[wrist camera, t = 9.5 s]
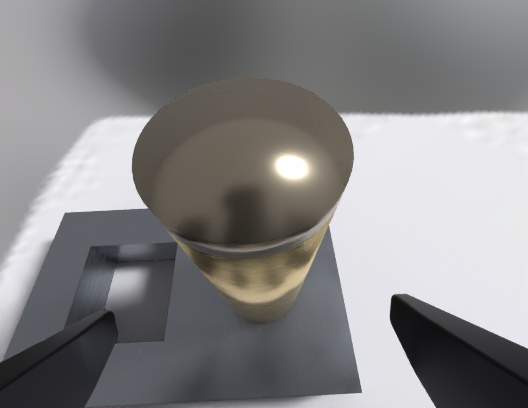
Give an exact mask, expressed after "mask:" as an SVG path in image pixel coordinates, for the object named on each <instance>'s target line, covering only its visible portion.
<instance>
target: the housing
mask: <svg viewBox="0 0 528 408" xmlns="http://www.w3.org/2000/svg"><path fill="white" fill-rule="evenodd" d="M165 259H175V266H174V273H173V280H172V287H171V294H170V301H169V308H168V315H167V322H166V329H165V336H164V341H152V342H133V343H115V345H114V347H113V349H112V352H111V354H110V356H109V358H108V361H107V363H106V365H105V367H104V369H103V372H102V374H101V376H100V378H99V380H98V383H97V385H96V387H95V389H94V391H93V393H92V395H91V397H90V399H89V400H88V402H87V404H86V406H85V407H103V406H122V405H141V404H160V403H179V402H197V401H216V400H235V399H254V398H273V397H292V396H311V395H330V394H349V393H362V390H361V385H360V380H359V375H358V370H357V365H356V360H355V355H354V350H353V344H352V339H351V334H350V329H349V324H348V319H347V314H346V309H345V304H344V299H343V294H342V289H341V284H340V279H339V274H338V269H337V264H336V259H335V254H334V249H333V244H332V239H331V234H330V229H329V226H328V228H327V230H326V232H325V235H324V237H323V239H322V241H321V244H320V246H319V248H318V250H317V253H316V255H315V257H314V259H313V262H312V264H311V266H310V268H309V271H308V273H307V275H306V277H305V280H304V282H303V284H302V286H301V289H300V291H299V293H298V295H297V298H296V300H295V302H294V304H293V305H292V307H291V308H290V310H289V311H288V312H287V313H286V314H284V315H283V316H282V317H280V318H279V319H277V320H274V321H271V322H267V323H255V322H251V321H248V320H246V319H244V318H242V317H240V316H239V315H238V314H237V313H236V312H235V311H234V310H233V309H232V308H231V307H230V305H229V304H228V303H227V302H226V301H225V299H224V298H223V297H222V296H221V295H220V294H219V292H218V291H217V290H216V289H215V288H214V286H213V285H212V284H211V283H210V282H209V280H208V279H207V278H206V277H205V276H204V274H203V273H202V272H201V271H200V270H199V268H198V267H197V266H196V265H195V264H194V262H193V261H192V260H191V259H190V258H189V256H188V255H187V254H186V253H185V252H184V250H183V249H182V248H181V247H180V246H179V244H178V243H177V242H176V241H175V240H174V238H173V237H172V236H171V235H170V234H169V232H168V231H167V230H166V229H165V228H164V226H163V225H162V224H161V223H160V222H159V220H158V219H157V218H156V217H155V216H154V214H153V213H152V212H151V211H150V210H149V209H131V210H111V211H91V212H71V213H65V214H64V216H63V219H62V221H61V223H60V226H59V228H58V231H57V233H56V235H55V238H54V240H53V242H52V245H51V247H50V250H49V252H48V254H47V257H46V259H45V262H44V264H43V266H42V269H41V271H40V274H39V276H38V278H37V281H36V283H35V285H34V288H33V290H32V293H31V295H30V297H29V300H28V302H27V305H26V307H25V309H24V312H23V314H22V317H21V319H20V321H19V324H18V326H17V328H16V331H15V333H14V336H13V338H12V340H11V343H10V345H9V348H8V350H7V352H6V355H5V357H4V359H3V361H4V360H6V359H8V358H10V357H12V356H14V355H16V354H17V353H19V352H21V351H23V350H25V349H27V348H29V347H31V346H33V345H35V344H36V343H38V342H40V341H42V340H44V339H46V338H48V337H50V336H52V335H54V334H56V333H57V332H59V331H61V330H63V329H65V328H67V327H69V326H71V325H73V324H75V323H76V322H78V321H80V320H82V319H84V318H86V317H88V316H90V315H92V314H94V313H96V312H98V311H104V308H105V304H106V300H107V297H108V293H109V289H110V285H111V282H112V278H113V274H114V270H115V267H116V263H117V262H126V261H146V260H165Z"/></svg>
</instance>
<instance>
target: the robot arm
mask: <svg viewBox="0 0 528 408" xmlns="http://www.w3.org/2000/svg"><path fill="white" fill-rule="evenodd" d="M390 321H391V324H392V327H393V329H394V331H395V333H396V335H397V337H398V339H399V341H400V343H401V345H402V347H403V349H404V351H405V353H406V355H407V357H408V359H409V361H410V364H411V366H412V367H413V369H414V371H415V373H416V375H417V377H418V378H419V380H420V382H421V383H422V385H423V387H424V388H425V390H426V392H427V393H428V395H429V397H430V398H431V400H432V402H433V403H434V405H435V407H436V408H528V349H527V348H525V347H523V346H521V345H518V344H516V343H514V342H512V341H510V340H507V339H505V338H503V337H501V336H498V335H496V334H494V333H492V332H490V331H487V330H485V329H483V328H481V327H479V326H476V325H474V324H472V323H470V322H467V321H465V320H463V319H461V318H459V317H456V316H454V315H452V314H450V313H447V312H445V311H443V310H441V309H439V308H436V307H434V306H432V305H430V304H428V303H425V302H423V301H421V300H419V299H416V298H414V297H412V296H410V295H408V294H394V295H393V296H392V298H391V308H390ZM117 336H118V332H117V327H116V323H115V318H114V314H113V312H111V311H98V312H96V313H94V314H92V315H90V316H88V317H86V318H84V319H82V320H80V321H78V322H76V323H75V324H73V325H71V326H69V327H67V328H65V329H63V330H61V331H59V332H57V333H56V334H54V335H52V336H50V337H48V338H46V339H44V340H42V341H40V342H38V343H36V344H35V345H33V346H31V347H29V348H27V349H25V350H23V351H21V352H19V353H17V354H16V355H14V356H12V357H10V358H8V359H6V360H4V361H2V362H0V408H85V406H86V404H87V402H88V400H89V399H90V397H91V395H92V393H93V391H94V389H95V387H96V385H97V383H98V380H99V378H100V376H101V374H102V372H103V369H104V367H105V365H106V363H107V361H108V358H109V356H110V354H111V352H112V349H113V347H114V345H115V343H116V340H117Z"/></svg>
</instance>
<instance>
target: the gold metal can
mask: <svg viewBox="0 0 528 408" xmlns="http://www.w3.org/2000/svg"><path fill="white" fill-rule="evenodd" d="M353 160H354V152H353V144H352V139H351V136H350V133H349V131H348V128H347V126H346V124H345V123H344V121H343V119H342V118H341V117H340V115H339V114H338V113H337V112H336V111H335V110H334V109H333V108H332V107H331V106H330V105H329V104H328V103H327V102H326V101H324V100H323V99H322V98H320V97H319V96H317V95H315V94H314V93H312V92H310V91H308V90H306V89H304V88H301V87H299V86H296V85H294V84H290V83H287V82H283V81H279V80H273V79H267V78H234V79H227V80H221V81H216V82H212V83H208V84H205V85H202V86H199V87H197V88H194V89H192V90H190V91H187V92H186V93H184V94H182V95H180V96H178V97H177V98H175V99H173V100H172V101H170V102H169V103H167V104H166V105H165V106H164V107H163V108H162V109H160V110H159V111H158V112H157V113H156V114H155V115H154V116H153V117H152V118H151V119H150V121H149V122H148V123H147V124H146V126H145V127H144V129H143V130H142V132H141V134H140V136H139V138H138V140H137V143H136V145H135V148H134V153H133V158H132V173H133V180H134V183H135V186H136V189H137V192H138V194H139V195H140V197H141V199H142V201H143V202H144V204H145V205H146V206H147V207H148V208H149V210H150V211H151V212H152V213H153V214H154V216H155V217H156V218H157V219H158V220H159V222H160V223H161V224H162V225H163V226H164V228H165V229H166V230H167V231H168V232H169V234H170V235H171V236H172V237H173V238H174V240H175V241H176V242H177V243H178V244H179V246H180V247H181V248H182V249H183V250H184V252H185V253H186V254H187V255H188V256H189V258H190V259H191V260H192V261H193V262H194V264H195V265H196V266H197V267H198V268H199V270H200V271H201V272H202V273H203V274H204V276H205V277H206V278H207V279H208V280H209V282H210V283H211V284H212V285H213V286H214V288H215V289H216V290H217V291H218V292H219V294H220V295H221V296H222V297H223V298H224V299H225V301H226V302H227V303H228V304H229V305H230V307H231V308H232V309H233V310H234V311H235V312H236V313H237V314H238V315H239V316H240V317H242V318H244V319H246V320H248V321H251V322H255V323H267V322H271V321H274V320H277V319H279V318H280V317H282V316H283V315H284V314H286V313H287V312H288V311H289V310H290V308H291V307H292V305H293V304H294V302H295V300H296V298H297V295H298V293H299V291H300V289H301V286H302V284H303V282H304V280H305V277H306V275H307V273H308V271H309V268H310V266H311V264H312V262H313V259H314V257H315V255H316V253H317V250H318V248H319V246H320V244H321V241H322V239H323V237H324V235H325V232H326V230H327V228H328V226H329V223H330V221H331V219H332V217H333V214H334V212H335V210H336V208H337V205H338V203H339V201H340V199H341V197H342V194H343V192H344V190H345V188H346V185H347V183H348V181H349V178H350V175H351V172H352V167H353Z"/></svg>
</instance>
